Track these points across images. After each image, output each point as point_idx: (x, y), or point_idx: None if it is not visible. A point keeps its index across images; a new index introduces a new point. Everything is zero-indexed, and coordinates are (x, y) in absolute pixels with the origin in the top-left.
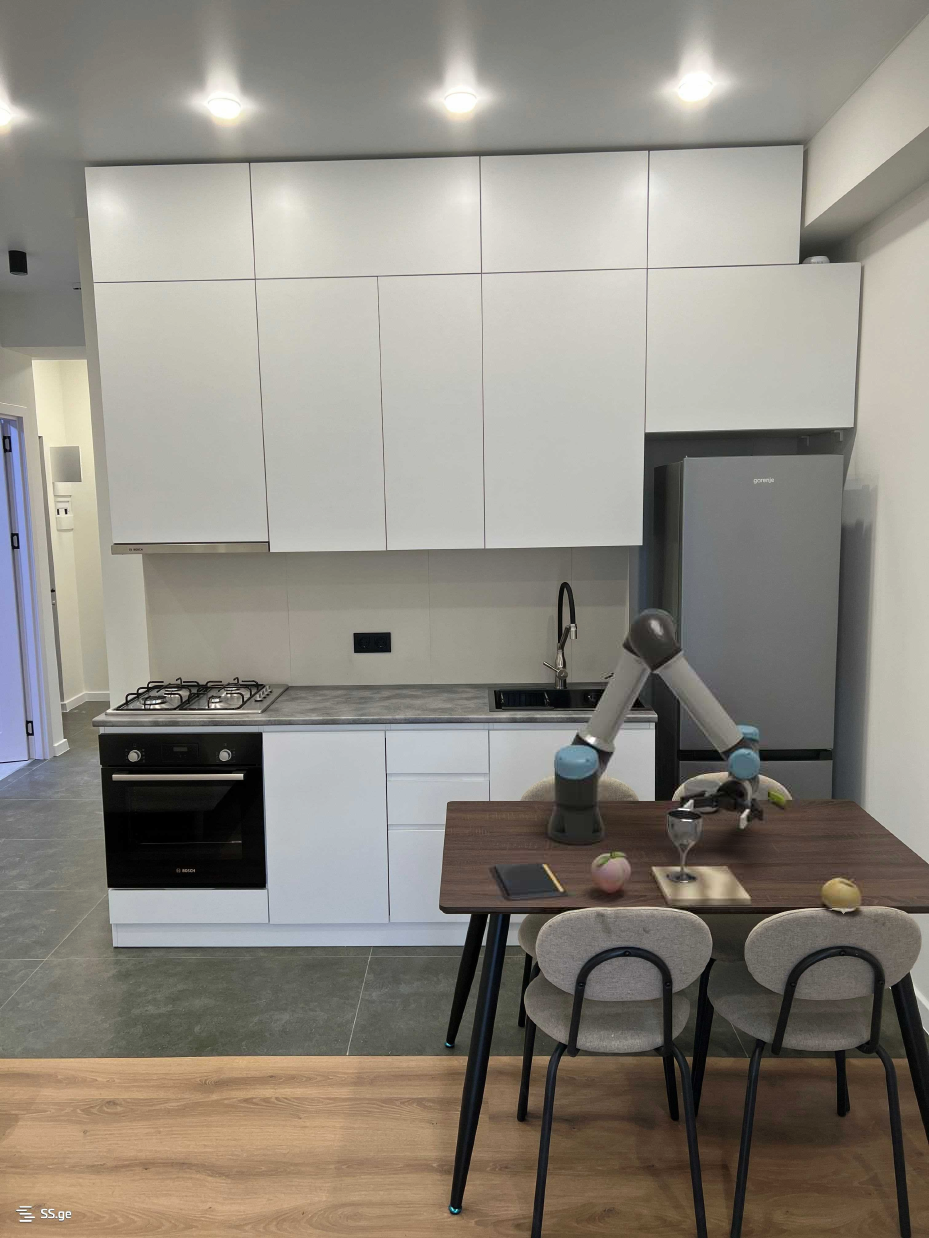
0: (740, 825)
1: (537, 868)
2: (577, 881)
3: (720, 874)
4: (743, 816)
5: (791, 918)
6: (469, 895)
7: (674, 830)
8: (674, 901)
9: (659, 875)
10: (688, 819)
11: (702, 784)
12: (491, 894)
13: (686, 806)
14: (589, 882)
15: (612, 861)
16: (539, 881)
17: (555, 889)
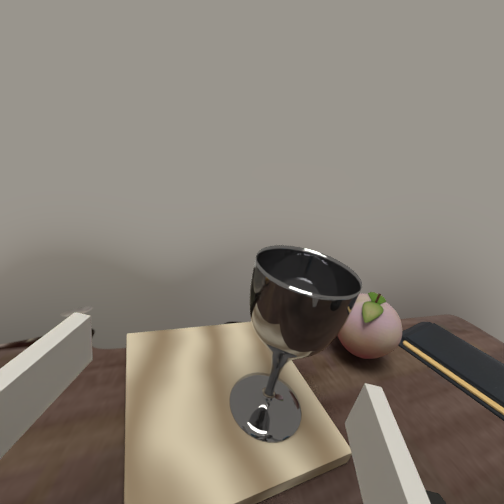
0: (90, 350)
1: (501, 392)
2: (422, 381)
3: (166, 447)
4: (68, 322)
5: (70, 312)
6: (464, 327)
7: (308, 281)
8: None
9: (312, 401)
10: (305, 324)
11: None
12: (453, 331)
13: (374, 400)
14: (405, 381)
15: (362, 294)
16: (444, 350)
17: (408, 336)
